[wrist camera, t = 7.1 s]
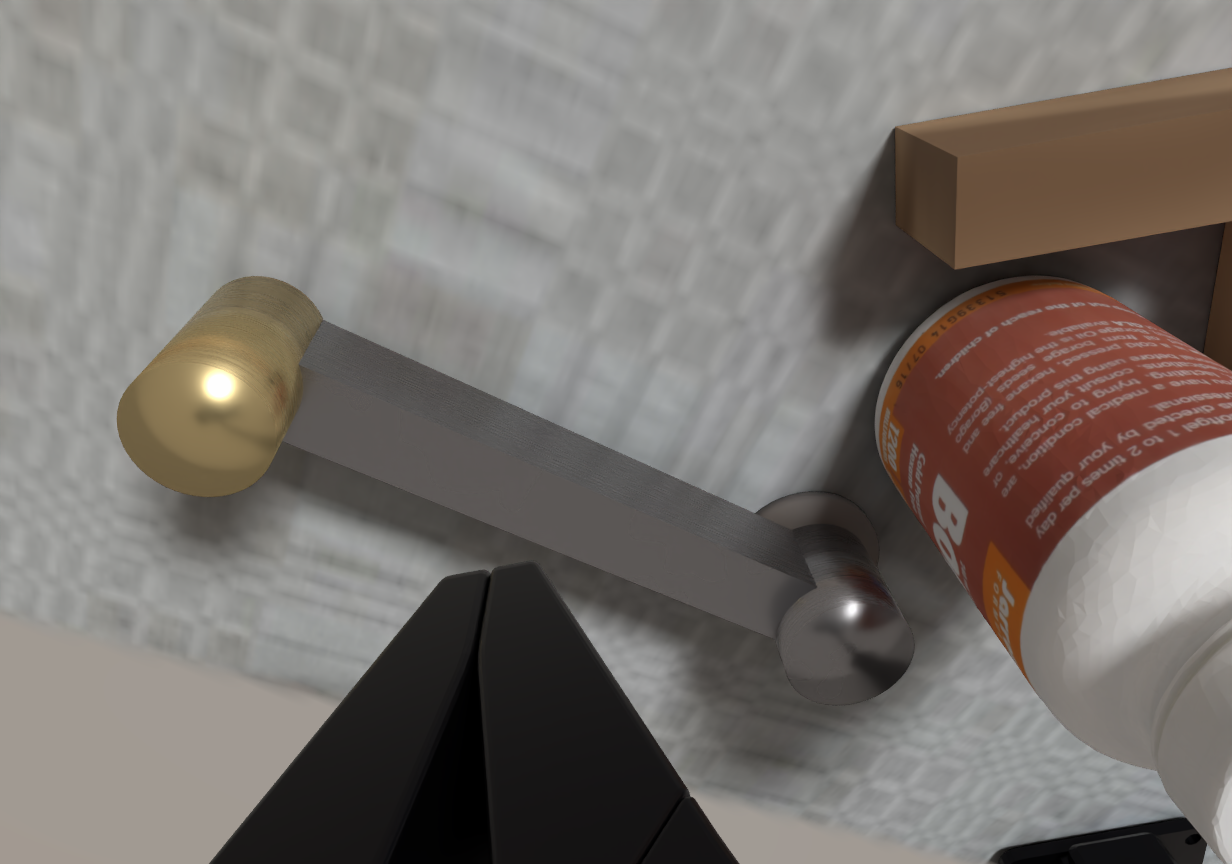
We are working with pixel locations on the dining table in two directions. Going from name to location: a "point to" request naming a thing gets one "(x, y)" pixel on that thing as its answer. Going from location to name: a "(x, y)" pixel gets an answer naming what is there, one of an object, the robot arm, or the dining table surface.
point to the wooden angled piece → (1060, 198)
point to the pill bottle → (1083, 515)
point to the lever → (501, 479)
